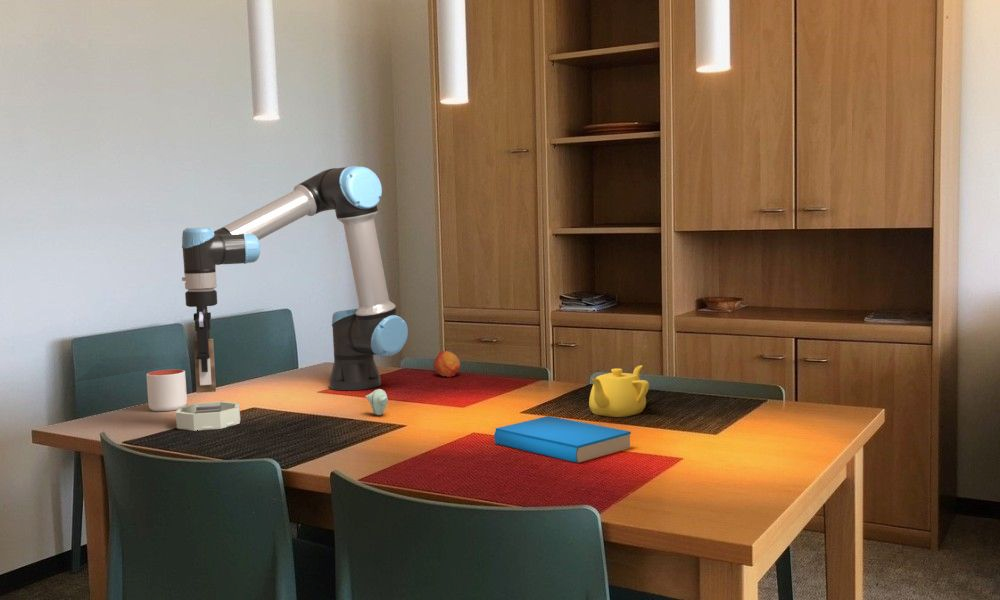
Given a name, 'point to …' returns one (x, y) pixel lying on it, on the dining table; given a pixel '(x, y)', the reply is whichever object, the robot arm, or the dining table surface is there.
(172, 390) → the cup
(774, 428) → the dining table surface
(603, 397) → the teapot
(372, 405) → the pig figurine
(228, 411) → the octagonal tray
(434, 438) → the dining table surface
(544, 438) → the book
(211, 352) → the brown tall block
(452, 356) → the fruit
